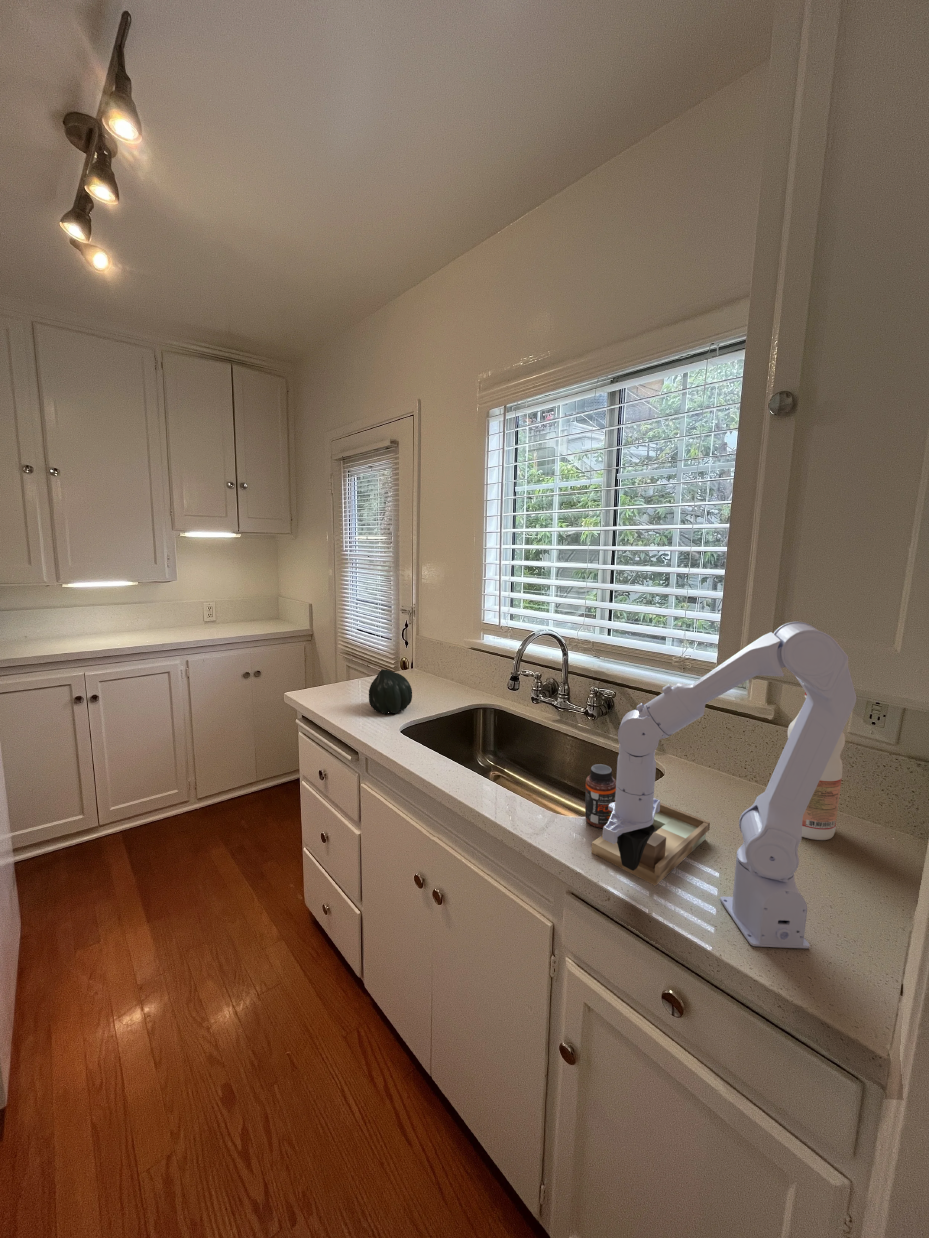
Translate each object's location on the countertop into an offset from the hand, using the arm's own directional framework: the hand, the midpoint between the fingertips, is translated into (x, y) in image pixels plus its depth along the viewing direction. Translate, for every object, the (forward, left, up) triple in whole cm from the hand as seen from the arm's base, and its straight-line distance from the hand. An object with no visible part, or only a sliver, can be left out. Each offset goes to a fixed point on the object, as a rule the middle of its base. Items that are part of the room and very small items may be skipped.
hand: (629, 866), depth 80 cm
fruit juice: (+19, -40, -4) cm, 45 cm away
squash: (+85, +55, -4) cm, 101 cm away
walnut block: (+4, -4, -1) cm, 6 cm away
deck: (+11, -7, -3) cm, 14 cm away
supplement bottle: (+19, 0, -3) cm, 19 cm away
